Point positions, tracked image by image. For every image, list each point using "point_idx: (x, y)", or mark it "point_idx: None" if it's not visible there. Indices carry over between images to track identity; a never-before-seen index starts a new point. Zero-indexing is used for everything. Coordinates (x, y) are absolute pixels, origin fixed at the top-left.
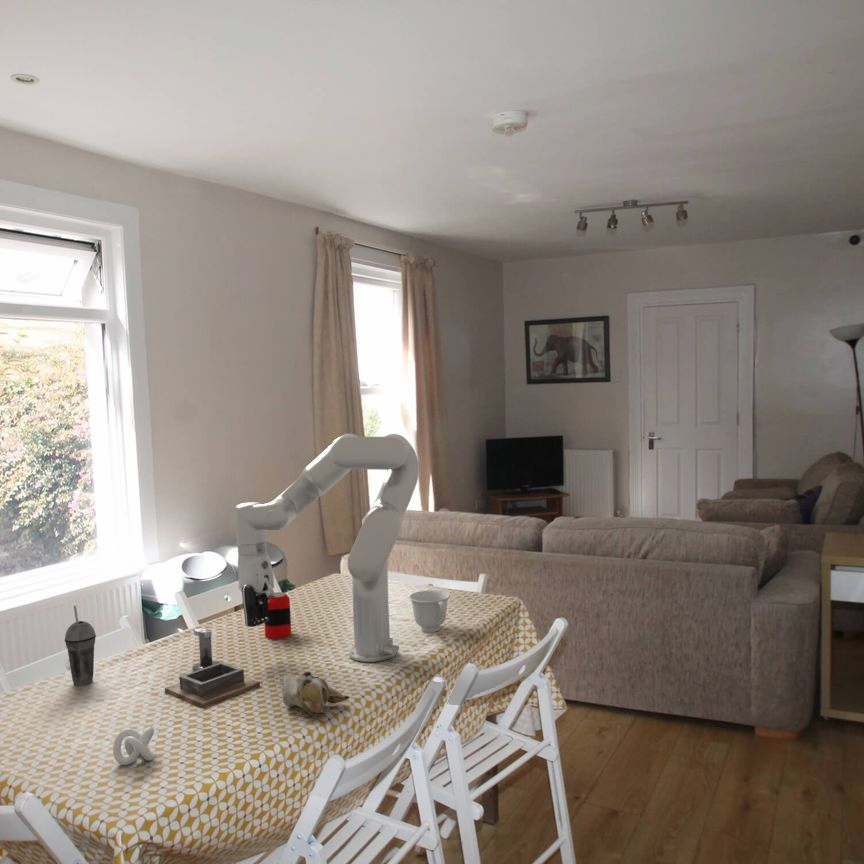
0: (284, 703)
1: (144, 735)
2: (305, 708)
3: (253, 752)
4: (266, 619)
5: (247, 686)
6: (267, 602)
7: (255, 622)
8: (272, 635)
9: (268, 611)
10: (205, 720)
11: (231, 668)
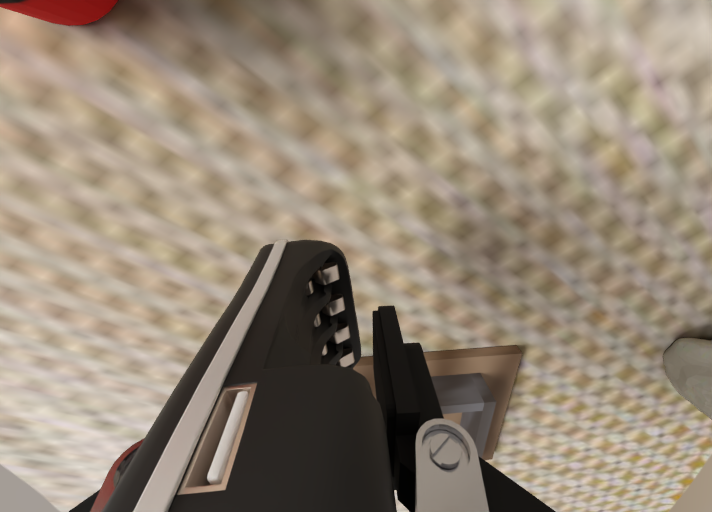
0: (672, 384)
1: None
2: None
3: (687, 461)
4: (339, 272)
5: (513, 381)
6: (417, 404)
7: (351, 353)
8: (96, 10)
9: (399, 327)
10: (534, 462)
11: (451, 410)
